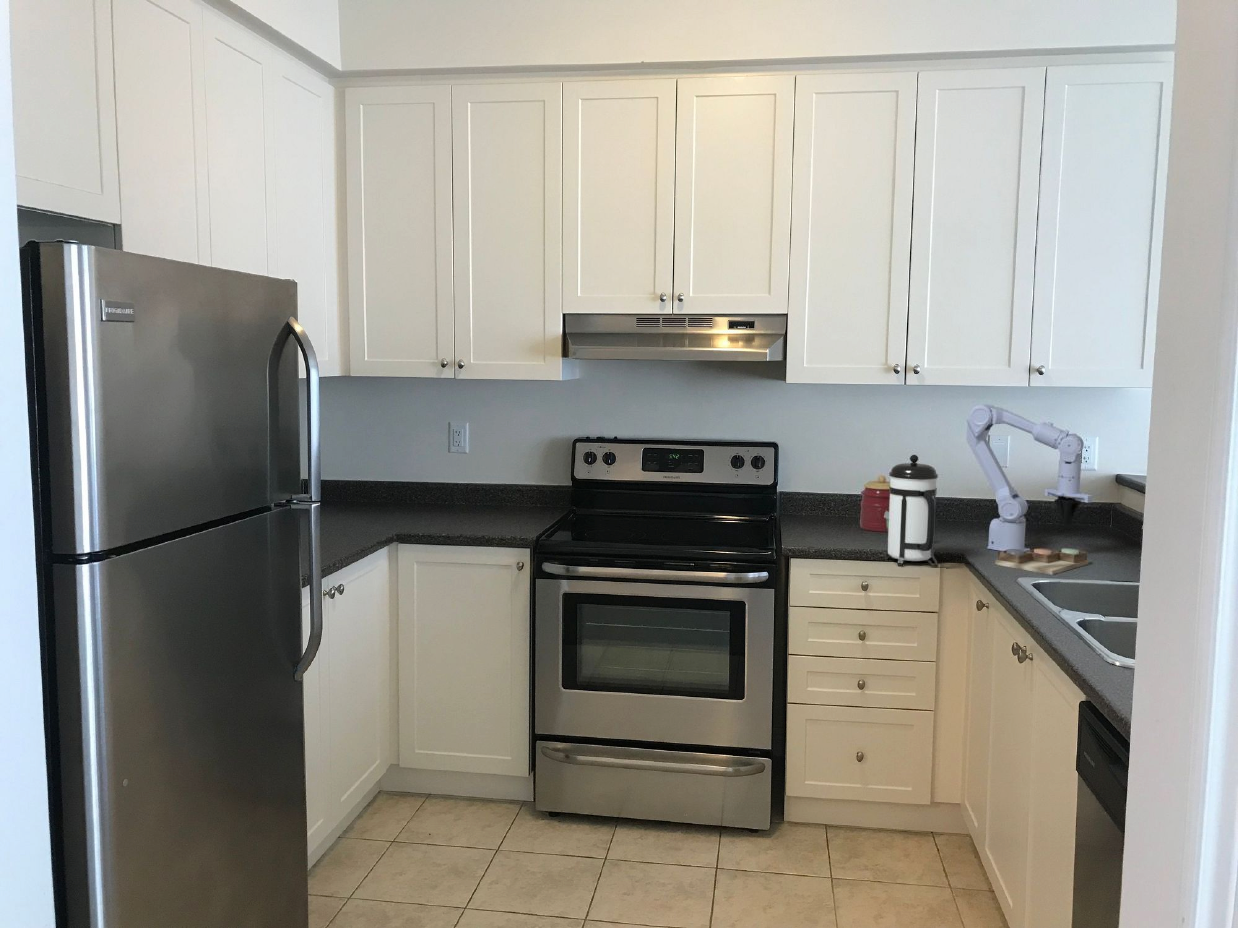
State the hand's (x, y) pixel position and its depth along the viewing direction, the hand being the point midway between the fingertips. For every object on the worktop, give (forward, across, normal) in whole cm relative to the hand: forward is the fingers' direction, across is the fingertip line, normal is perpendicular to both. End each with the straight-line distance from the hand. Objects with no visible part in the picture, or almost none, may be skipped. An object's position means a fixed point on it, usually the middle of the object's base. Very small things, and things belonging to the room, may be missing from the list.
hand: (1066, 524), depth 276 cm
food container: (+10, -31, -32) cm, 46 cm away
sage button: (+8, +7, -7) cm, 13 cm away
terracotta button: (+8, +5, -14) cm, 17 cm away
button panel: (+9, +5, -14) cm, 18 cm away
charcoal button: (+8, +2, -22) cm, 23 cm away
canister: (+10, -56, -19) cm, 60 cm away
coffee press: (+10, -11, -46) cm, 48 cm away
